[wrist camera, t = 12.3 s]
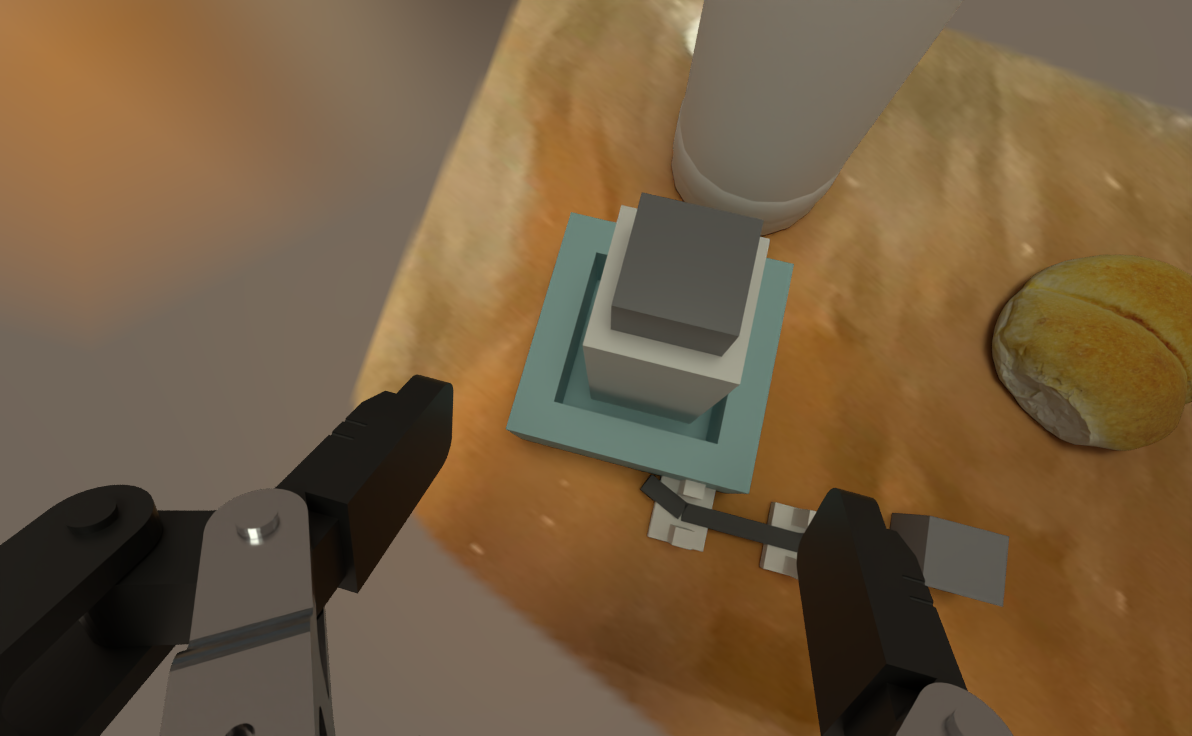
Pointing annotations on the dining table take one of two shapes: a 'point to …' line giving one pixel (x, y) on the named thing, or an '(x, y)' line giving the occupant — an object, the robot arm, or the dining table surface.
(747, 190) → the bottle
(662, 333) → the block
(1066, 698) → the dining table surface
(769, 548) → the cable run
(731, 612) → the dining table surface
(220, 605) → the robot arm
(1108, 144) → the dining table surface
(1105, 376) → the bread roll
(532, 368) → the end socket
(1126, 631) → the dining table surface
